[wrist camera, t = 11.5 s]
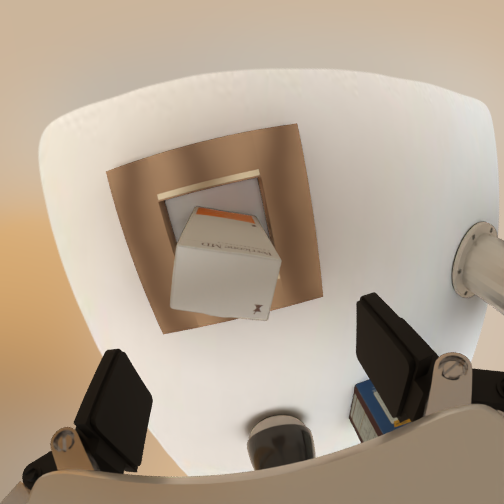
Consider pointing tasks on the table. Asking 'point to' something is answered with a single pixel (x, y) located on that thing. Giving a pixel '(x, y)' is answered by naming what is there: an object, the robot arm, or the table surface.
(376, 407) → the protein box
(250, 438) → the pump dispenser
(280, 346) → the table surface
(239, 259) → the skincare box
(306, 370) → the table surface
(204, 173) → the wooden square frame
